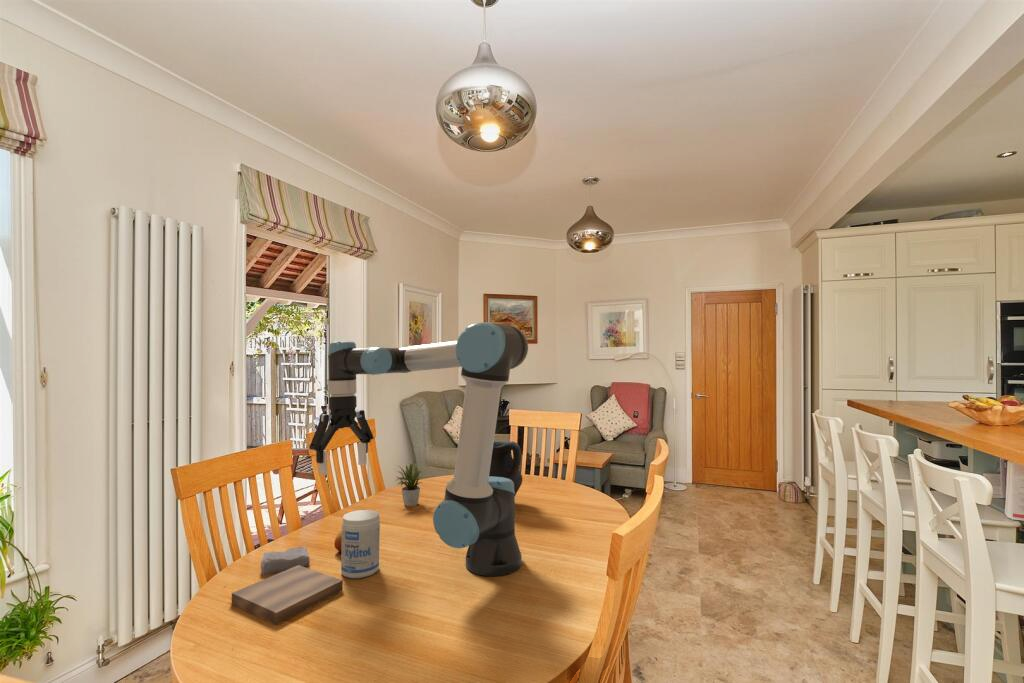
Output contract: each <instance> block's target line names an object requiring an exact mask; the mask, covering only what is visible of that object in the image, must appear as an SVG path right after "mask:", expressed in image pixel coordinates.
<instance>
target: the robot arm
mask: <svg viewBox="0 0 1024 683" xmlns="http://www.w3.org/2000/svg"><path fill="white" fill-rule="evenodd" d="M528 352H529V342H528V339H527V337H526V335H525V333H524V332H523V331H521V329H519V328H518V327H516V326H513V325H509V324H502V323H496V322H490V321H488V322H486V321H484V322H475V323H472V324H470V325H468V326H467V327H466V328H465V329H463V330H462V331H461V333H460V335H459V336H458V338H457V339H456V340H452V341H445V342H436V343H430V344H429V343H427V344H420V345H413V346H403V347H384V346H381V347H380V346H370V347H359V348H358V347H357V344H356V342H354V341H332V342H330V343H329V345H328V355H327V359H328V394H329V395H330V396H329V397H328V409H329V412H330V413H329V414H324V413H321V414H320V415H319V419H318V424H317V427H316V430H315V432H314V435H313V437H312V439H311V442H310V445H309V448H308V449H309V450H312V451H315V452H316V454H315V456H316V459H315V460H316V464H318V475H320V476H328V450H326V448H327V447H328V444H329V443H330V442H331V440H332V438H333V437H334V435H335V434H336V432H337V431H339V429H341V430H342V429H344V428H350V430H351V431H352V432H353V434H354V435H355V436H356V438H357V439H358V440H359V441H360V442H358V443H357V446H358V447H357V452H358V454H357V455H358V457H357V458H358V459H357V461H358V465H359V466H364V467H365V466H367V463H368V462H367V454H368V452H369V448H368V447H369V445H368V444H369V443H370V442H371V440H373V439H374V434H373V433H372V430H371V428H370V425H369V423H368V420H367V418H366V413H365V410H364V409H356V408H357V401H358V400H357V395H355V394H357V375H371V376H374V375H383V374H399V373H400V374H401V373H402V374H407V373H411V372H421V371H430V370H441V369H442V370H443V369H449V368H450V369H452V368H461V370H460V371H461V373H460V376H461V377H462V379H463V381H465V390H464V398H463V403H462V413H461V419H460V428H459V434H458V435H459V436H458V443H457V448H456V458H455V463H454V464H455V465H454V472H453V478H452V479H451V480H450V481H448V482H447V483H446V485H445V492H444V498H443V500H442V501H441V502H440V503H438V505H437V506H436V507H435V509H434V511H433V514H432V523H433V527H434V531H435V533H436V534H437V535H438V536H439V539H440V540H441V541H442V542H443V543H444V544H445V545H447V546H449V547H451V548H454V549H464V548H467V547H468V548H467V551H466V555H465V568H466V569H467V570H468V571H469V572H471V573H473V574H476V575H477V576H478V575H479V576H482V577H483V576H485V577H501V576H506V575H510V574H513V573H514V572H516V571H518V570H519V569H520V568H521V567H522V564H523V563H522V562H523V559H522V558H523V557H522V553H521V550H520V547H519V543H518V540H517V537H516V528H515V527H516V523H515V522H516V519H515V518H516V517H515V516H516V513H515V509H516V508H515V507H516V504H515V503H516V502H515V501H516V500H515V497H516V495H515V491H514V483H513V481H512V480H510V479H508V478H503V477H492V476H489V472H490V465H491V458H492V451H493V443H494V442H495V434H496V429H497V421H498V413H499V408H500V407H499V406H500V399H501V394H502V393H501V391H502V387H503V386H505V385H506V384H508V382H509V378H510V371H511V370H513V369H515V368H518V367H519V366H520V365H522V363H523V362H524V361H525V360H526V358H527V355H528Z"/></svg>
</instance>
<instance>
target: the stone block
mask: <svg viewBox="0 0 1024 683" xmlns="http://www.w3.org/2000/svg"><path fill="white" fill-rule="evenodd" d="M260 562H261V563H260V570H261V571H260V572H261V575H262V576H265V574H266V575H270V574H271V573H272V574H276V573H275V572H277V573H281V571H282V572H283V571H286V570H288V569H290V568H293V567H295V566H298V565H300V566H303V567H305V568H306V567H308V566H310V562H311V561H310V554H308V548H307V547H305V546H298V547H292V548H288V549H286V550H285V551H267V552H263V556H262V559H261V561H260ZM307 565H308V566H307Z"/></svg>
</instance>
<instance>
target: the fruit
mask: <svg viewBox="0 0 1024 683" xmlns="http://www.w3.org/2000/svg"><path fill="white" fill-rule="evenodd" d="M341 547H342V529H341V530H339V531H337V534H336V537H335V538H334V548H335V549H336V550H337V551H338V552H339V553H341Z"/></svg>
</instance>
